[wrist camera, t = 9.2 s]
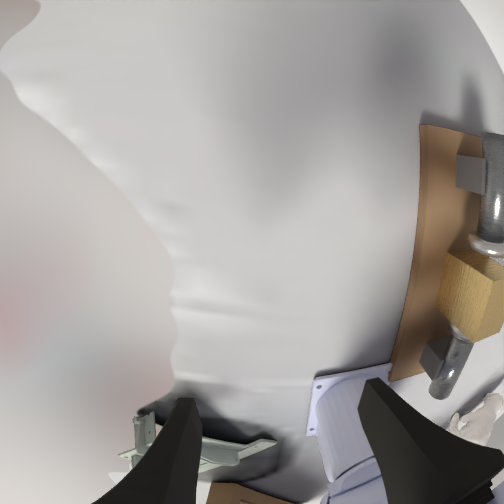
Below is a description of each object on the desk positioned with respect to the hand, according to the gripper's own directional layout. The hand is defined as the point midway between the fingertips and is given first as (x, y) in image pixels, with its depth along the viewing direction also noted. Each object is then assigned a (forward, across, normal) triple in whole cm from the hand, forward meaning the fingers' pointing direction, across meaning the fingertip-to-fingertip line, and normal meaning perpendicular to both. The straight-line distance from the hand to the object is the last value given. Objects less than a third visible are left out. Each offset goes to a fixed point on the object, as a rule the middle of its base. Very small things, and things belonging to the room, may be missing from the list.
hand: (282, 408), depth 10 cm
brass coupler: (+8, -16, 0) cm, 18 cm away
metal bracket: (+10, +9, +18) cm, 23 cm away
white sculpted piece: (+10, -33, +26) cm, 43 cm away
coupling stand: (+9, -16, -1) cm, 19 cm away
